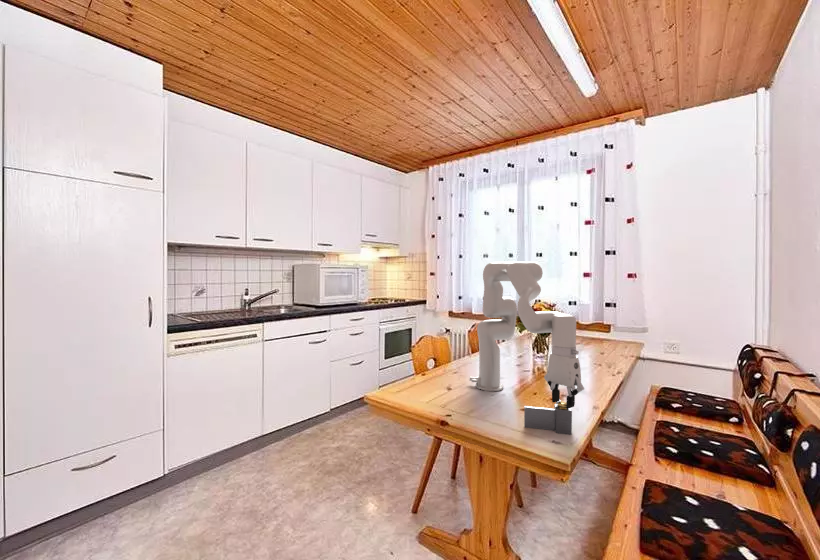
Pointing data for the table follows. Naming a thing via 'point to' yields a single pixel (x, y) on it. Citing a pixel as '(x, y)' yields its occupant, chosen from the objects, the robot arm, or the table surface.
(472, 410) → the table surface
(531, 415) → the hinge bracket
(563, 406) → the hinge pin
